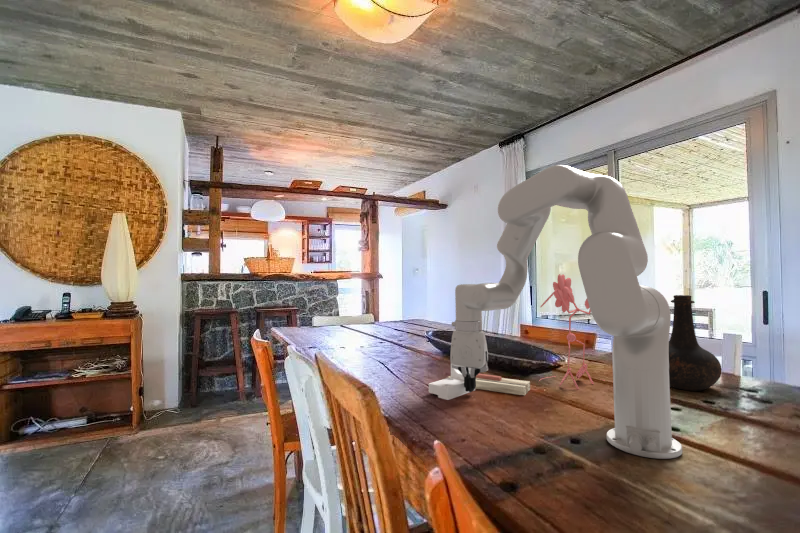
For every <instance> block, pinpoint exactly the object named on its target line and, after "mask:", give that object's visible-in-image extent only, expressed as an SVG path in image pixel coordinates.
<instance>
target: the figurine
mask: <svg viewBox="0 0 800 533" xmlns="http://www.w3.org/2000/svg"><path fill="white" fill-rule="evenodd" d="M571 286H572V278H570V277H567V278H566V275H565V274H561V273H560V274H559V273H558V275H557V281H553V282H552V287H553V292H552V293H551V294H550V295H549V296H548V297H547V298H546V300H544V302H543V303H542V304H541V305H540V306H539V308H542V307H544V305H545V304H546V303H548V301H549V300H550V299H551V298H552V297H554V298H555V301H554V302H555V303H554V306H555V307H556V308H561V311H562V313H564V314H565V313H566V312H567V314H570V315H569V318H568V328H569V329H568V334H567V335H566V340H567V342H568V344H567V345H568V354H567V355H568V357H567V358H568V359H567V360H568V361H567V362H568V363H567V370H566V373H565V374H564V376H563V378H562V380H561V381H560V383H559V385H558V386H559V387H561V385H562V384H563V383H564V381H565V380H566V379H567V377H569V375H570V377H571V379H572V382H573V384H574V386H575V388H576V389H577V390H580V388H579V386H578V384H577V382H576V379H575V378H574V376H573V373H572V372H571V370H572V367H570V358H571V356H570V354H571V343H573V342H577V343H580V344H581V345H583V354H582V355H583V356H582V366H580V367H579V369H578V371H577V372H576V375H575V376H576V378H577V380H580V378H582V376H583V375H584V374H585V373H586V375H587V377H588V378H589V381H590V383H591V385H594V381H593V379H592V377H591V375H590V373H589V372H588V363H585V355H586V354H585V351H586V350H585V349H586V344H585V343H583V342H582V341H580V340H579V339H578V340H577V336H576V335H575V334H574V333H572V332H571V327H572V326H571V324H572V317H573V316H574V315H575V314H577V313H578V312H581V313H584V314H586V315H591V314H592V313H591V310H590V307H589V303H588V300H587V298H586V299H585V301H584V307H585V309H586V310H588V309H589V310H588V311H586V310H582V309H580V308H579V307H578V305H577V304H576V302H575V296H574V293H573V289H572V287H571ZM570 304H573V305H574V307H575V309H572V310H570ZM571 313H572V314H571ZM556 377H557V375H556V376H555V375H554V376H553V375H552V376H551V378H556ZM546 378H550V376H547V377H542V380H543V379H546ZM599 380H600V381H602V379H600V378H599ZM540 381H541V379H539V380H538V382H537V383H538V385H540V386H541V384H540V383H539V382H540ZM603 381H606V380H605V379H603Z"/></svg>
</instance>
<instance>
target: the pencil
mask: <svg viewBox="0 0 800 533" xmlns="http://www.w3.org/2000/svg"><path fill="white" fill-rule="evenodd" d="M476 377H477V378H484V379H491V380H497V381H501V380H502V378H503V377H502V376H500V375H492V374H487V373H486V374H485V373H479V374H478V375H477V376H476Z"/></svg>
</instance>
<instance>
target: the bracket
mask: <svg viewBox="0 0 800 533" xmlns="http://www.w3.org/2000/svg"><path fill="white" fill-rule="evenodd" d="M470 372H471V368H469V373H470ZM450 375H451V377H449V376H448V377H449V378H448V377H445V378H443V379H440V380H436V381H433V382H430V383H429V382H428V394H429V393H430V394H432V395H433V394H434V395H437V398H438V399H442V400H447V401H449V400H452V399H455V398H458V397H460V396H463V395H466V394H469V393H470V392H469V391H468V392H467V391H466V390H465V387H464V377H463V376H462V373H461V372H460V371H459V370H457V369H454V368H452V364H451V363H450ZM475 391H476V389H474V390H473V391H472V392H475Z"/></svg>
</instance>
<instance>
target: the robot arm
mask: <svg viewBox="0 0 800 533" xmlns="http://www.w3.org/2000/svg"><path fill="white" fill-rule="evenodd" d="M554 206H558V207H562V208H567V209H569V208H570V209H574V210H586V211H587V222H588V223H587V224H588V226H589V230H590V233H591V235H588V237H587V238H585V239H584V240H583V242H582V243H581V245H580V247H579V250H578V254H577V264H578V269H579V273H580V274H579V275H580V278H581V281H582V284H583V288H584V291H585V296H586V299H587V300H588V303H589V307H590V308H589V310H591V313H590V314H591V316H592V318H593V320H594V322H595V323H596V325H597V326H598V327H599V328H600V329H601V330H602V331H603V332H605V333H606V334H608V335H611V336H613V340H612V341H613V342H612V381H613V383H612V384H613V386H612V387H613V411H614V412H613V413H614V428H611V429H609V430H608V431H607V432H606V440H607V442H608V443H609V444H610V445H612V446H613V447H615V448H616V449H618V450H620V451H623V452H625V453H627V454H628V453H629V454H631V455H634V456H639V457H644V458H647V459H648V458H650V459H659V460H660V459H662V460H664V459H665V460H667V459H675V458H678V457H680V456H681V455H683V445H682V444H681V443H680V442H679V441H678V440H676V439H675V438H673V435H672V433H673V432H672V411H671V410H672V409H671V389H670V383H669V340H670V330H671V319H672V318H671V309H670V305H669V303H668V301H667V299H666V297H665V296H664V295H663V294H662V293H661V292H660V291H659V290H657V289H655V288H653V287H652V286H651V287H650V286H648V285H643V284H640V282H639V279H638V276H640V275H641V274H642V273H644V271H645V270H646V268H647V267H648V266H647V265H648V262H649V261H648V260H649V259H648V252H647V250H646V247H645V244H644V242H643V238H642V235H641V232H640V230H639V227H638V222H637V220H636V217H635V215H634V212H633V208H632V206H631V204H630V199H629V196H628V193H627V191H626V190H625V188H624V186H623V185H622V183H620V182H619V181H618V180H617V179H616V178H613V177H611V176H609V175H603V174H595V173H590V172H586V171H583V170H581V169H577V168H575V167H571V166H570V165H564V164H556V165H552V166H549V167H546V168H545V169H543V170H541V171H539V172H538V173H536V174H534V175H532V176H531V177H529V178H527V179H524V181H522V182H520V183H518V184H516V185H515V186H513V187H511V188H510V189H509V190H507V191H506V192H505V193H504V194H503V195H502V197H501V199H500V200H499V202H498V206H497V214H498V217H499V219H501V221H502V222H504V223H506V225H505V227H504V230H503V231H502V232H501V233H502V234H501V236H500V237H499V239H498V241H497V243H496V249H497V250H498V252H499V253H500V254H501V255H503V257H504V259H505V267H504V268H505V269H504V271H503V274H502V276H501V278H500V280H499V282H490V283H489V282H487V283H486V282H485V283H476V284H475V283H463V284H461V283H460V284H458V285H456V287H455V289H454V291H455V292H454V296H455V297H454V298H455V320H454V321H452V322H451V327H454V329H455V330H453V331H452V335H451V341H450V342H451V343H450V356H449V357H450V365H451V364H452V368H454V369H457V370H459V371H460V372H461V373H462V376H463V377H464V387H465V390H466V391H467V392H468V391H469V393H472V392H474V391H473V390H474V389H475V388H476V376H477V375H478V374H481V373H486V372H487V371H489V366H488V362H489V354H488V353H489V352H488V344H487V338H486V333H485V331H483V316H482V315H483V312H488V311H496V310H497V311H498V310H500V311H501V310H506V309H509V308H510V307H512V306H513V305H514V304H515V303H516V302H517V300H518V299H519V296H520V294H521V293H522V291H523V289H524V287H525V285H526V282H527V278H528V267H529V266H528V259H529V258H528V257H529V256H530V254H531V252H532V250H533V248H534V246H535V244H536V242H537V241H538V238H539V236H540V235H541V233H542V231H543V229H544V227H545V225H546V223H547V221H548V219H549V217H550V215H551V210H552V209H551V208H552V207H554ZM469 368H471V372H470V373H469ZM475 390H476V389H475Z"/></svg>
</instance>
